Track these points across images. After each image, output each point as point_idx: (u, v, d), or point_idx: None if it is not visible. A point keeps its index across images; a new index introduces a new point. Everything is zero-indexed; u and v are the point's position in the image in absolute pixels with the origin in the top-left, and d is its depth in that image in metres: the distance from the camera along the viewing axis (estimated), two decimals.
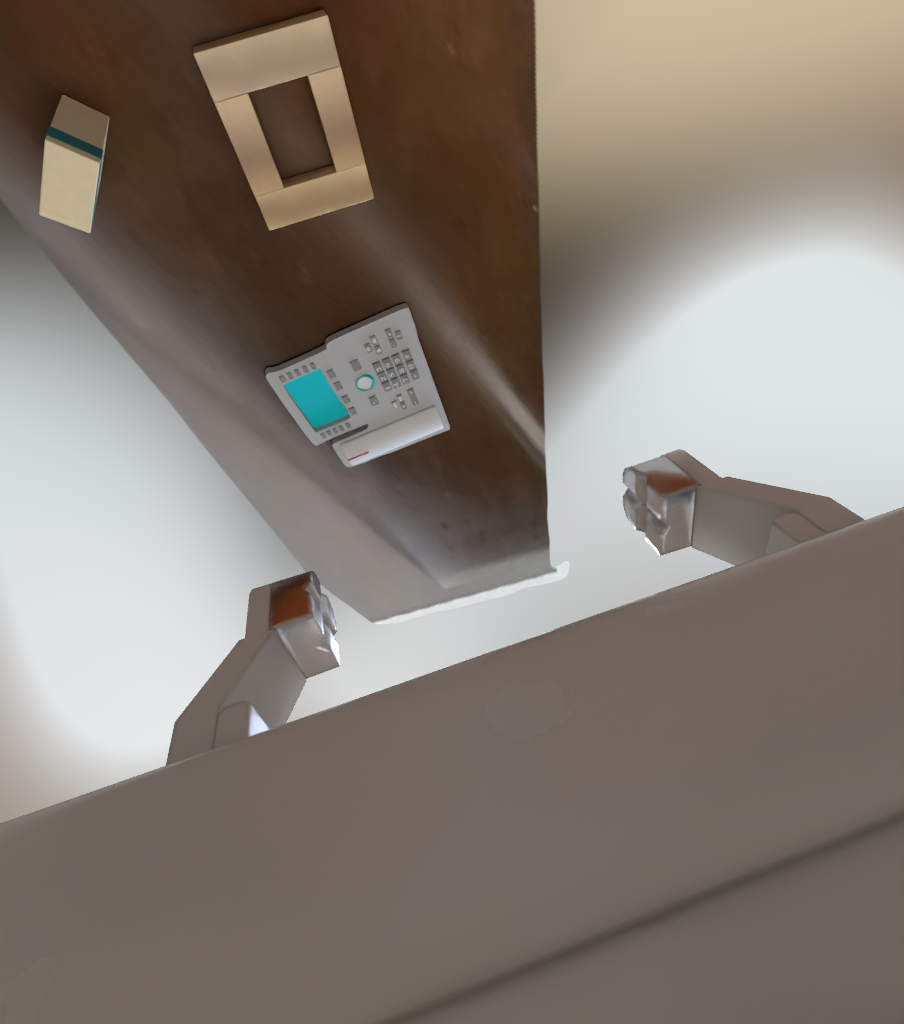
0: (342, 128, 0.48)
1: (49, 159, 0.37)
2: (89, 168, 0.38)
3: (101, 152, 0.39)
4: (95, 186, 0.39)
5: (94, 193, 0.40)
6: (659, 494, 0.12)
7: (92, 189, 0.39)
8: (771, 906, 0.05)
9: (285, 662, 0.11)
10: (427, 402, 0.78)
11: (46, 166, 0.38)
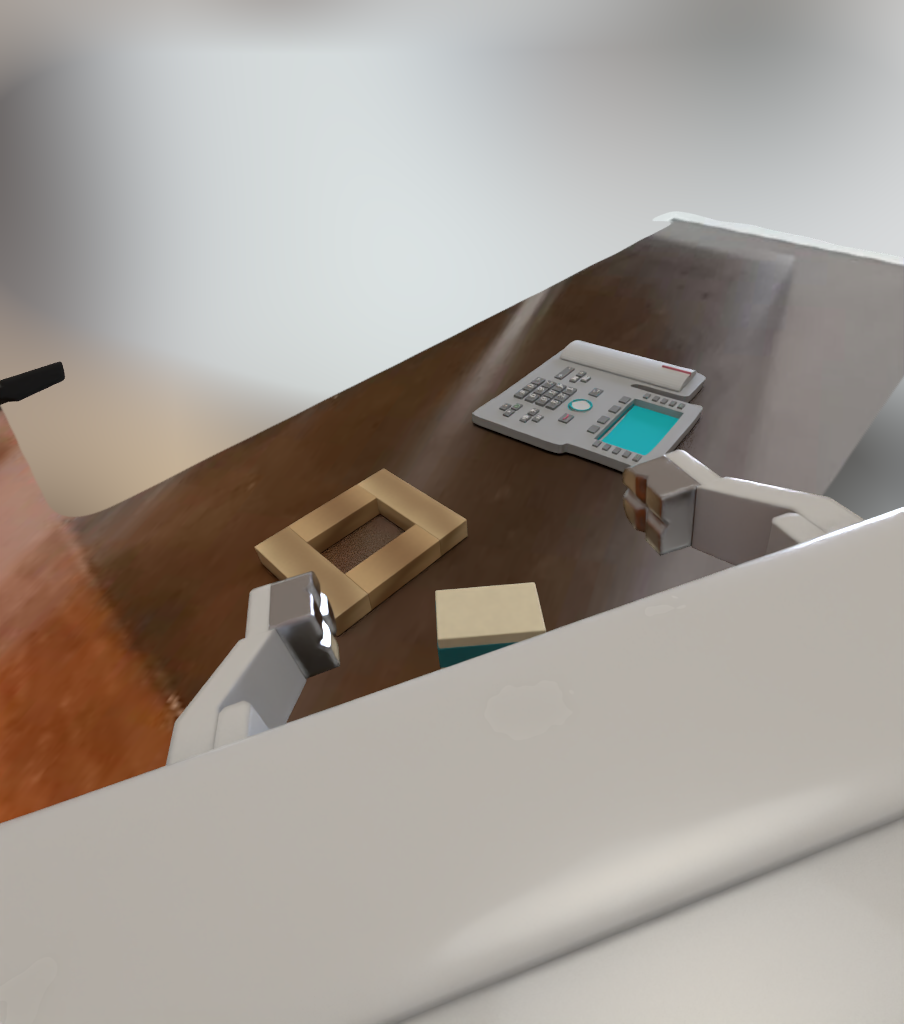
0: (337, 507, 0.47)
1: (460, 631, 0.27)
2: (447, 596, 0.29)
3: None
4: (467, 588, 0.29)
5: (476, 587, 0.29)
6: (659, 494, 0.12)
7: (472, 590, 0.29)
8: (771, 906, 0.05)
9: (285, 662, 0.11)
10: (561, 363, 0.66)
11: (471, 633, 0.27)
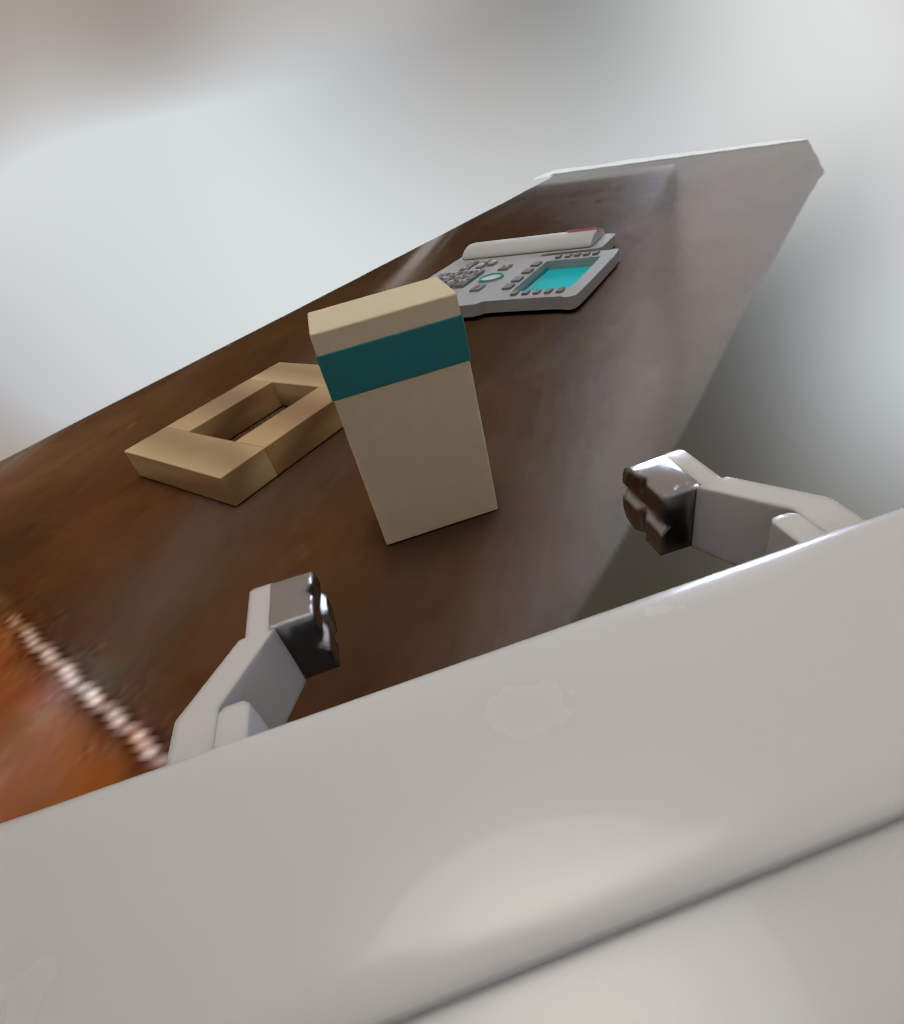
0: (225, 399, 0.39)
1: (341, 322, 0.19)
2: (323, 311, 0.21)
3: None
4: (349, 301, 0.21)
5: (362, 298, 0.21)
6: (659, 494, 0.12)
7: (356, 300, 0.21)
8: (771, 905, 0.05)
9: (285, 662, 0.11)
10: (465, 262, 0.61)
11: (356, 319, 0.19)
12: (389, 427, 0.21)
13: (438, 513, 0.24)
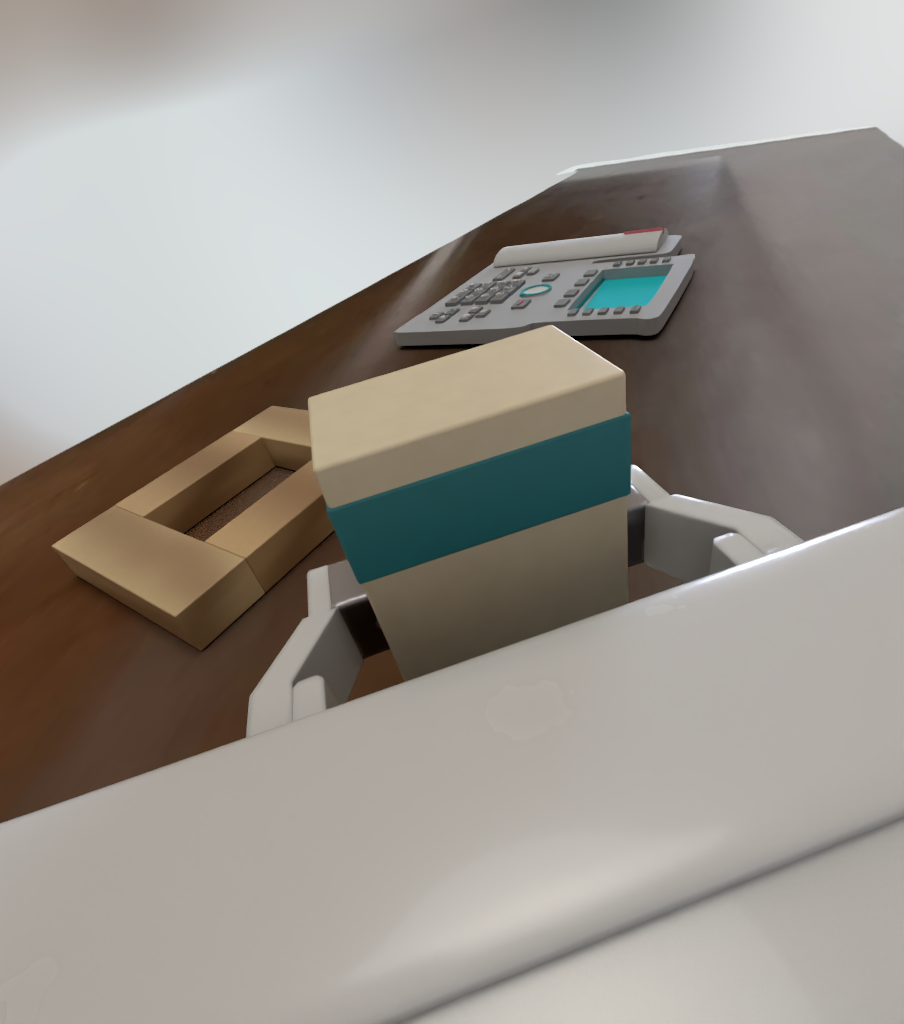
0: (198, 463, 0.29)
1: (380, 438, 0.09)
2: (338, 397, 0.11)
3: None
4: (387, 374, 0.11)
5: (411, 367, 0.11)
6: None
7: (402, 372, 0.11)
8: (772, 907, 0.05)
9: (346, 641, 0.11)
10: (498, 270, 0.51)
11: (413, 432, 0.09)
12: (465, 614, 0.11)
13: None
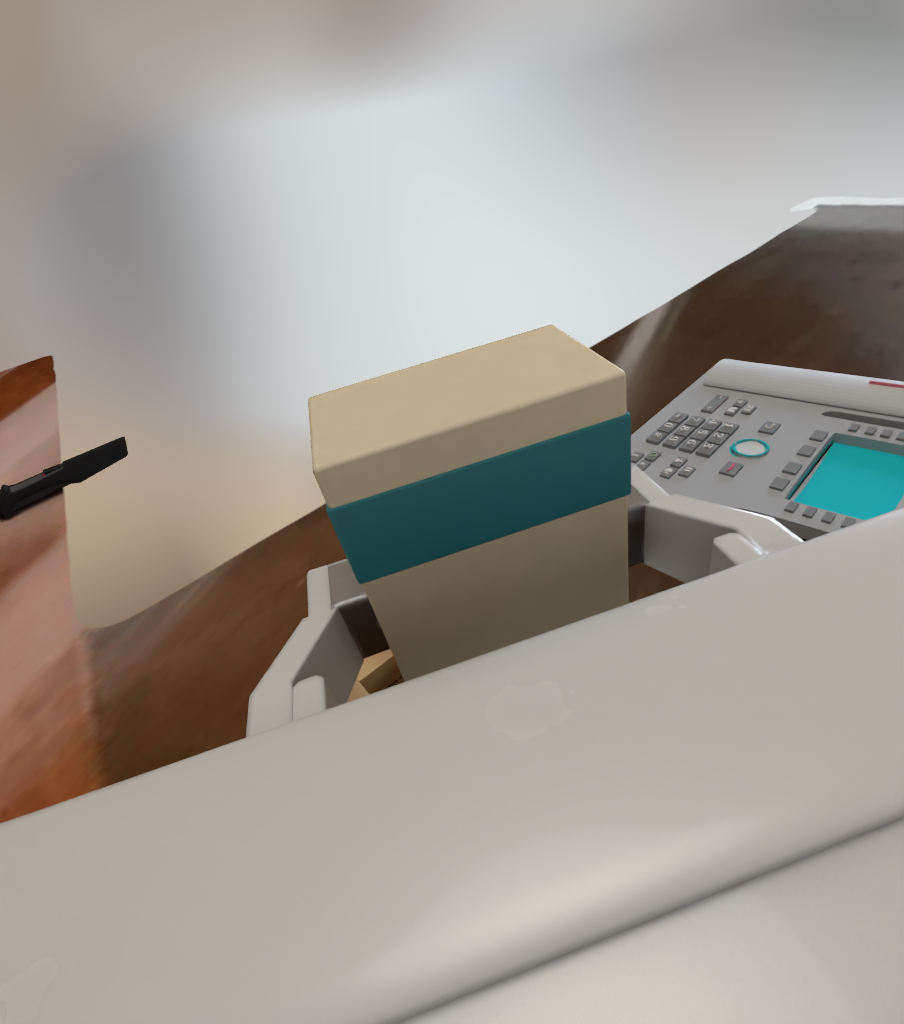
0: None
1: (380, 438, 0.09)
2: (339, 397, 0.11)
3: None
4: (387, 374, 0.11)
5: (412, 366, 0.11)
6: None
7: (402, 371, 0.11)
8: (771, 906, 0.05)
9: (346, 641, 0.11)
10: (707, 391, 0.49)
11: (413, 431, 0.09)
12: (465, 614, 0.11)
13: None
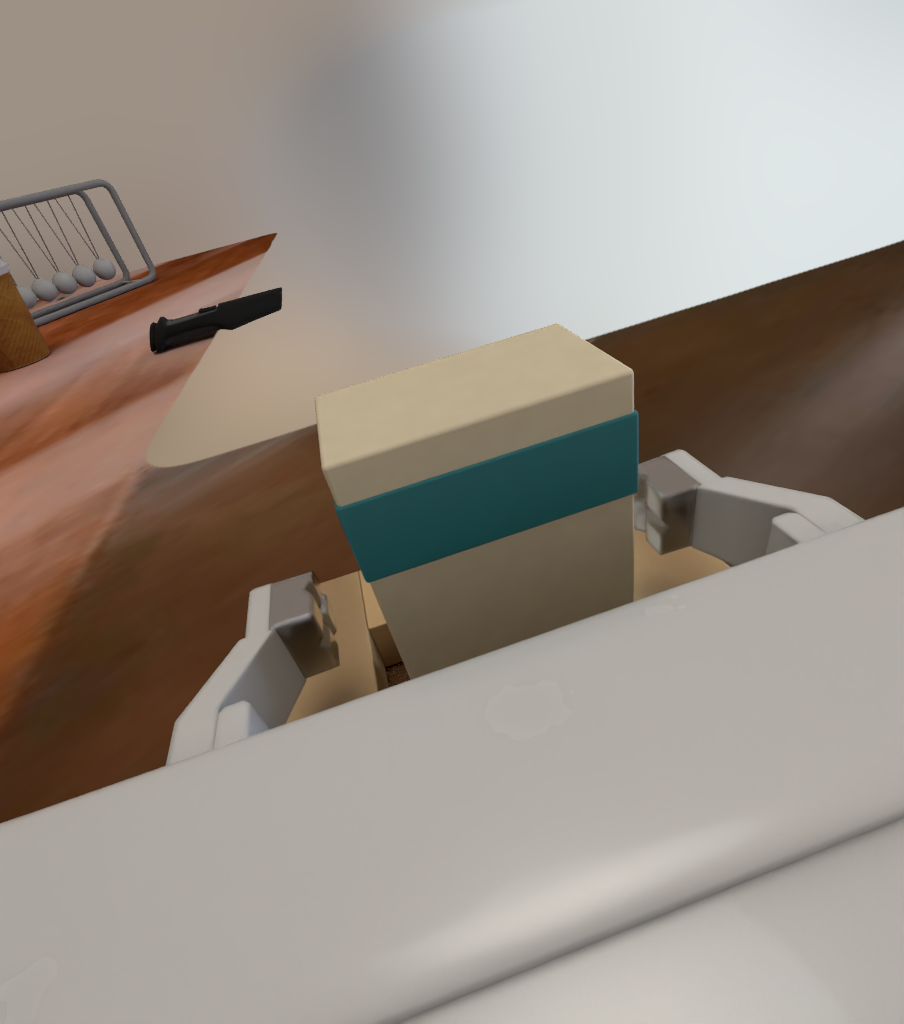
0: None
1: (388, 436, 0.09)
2: (345, 395, 0.11)
3: None
4: None
5: (418, 365, 0.11)
6: (659, 494, 0.12)
7: (408, 370, 0.11)
8: (770, 906, 0.05)
9: (285, 662, 0.11)
10: None
11: (422, 430, 0.09)
12: (472, 612, 0.11)
13: None
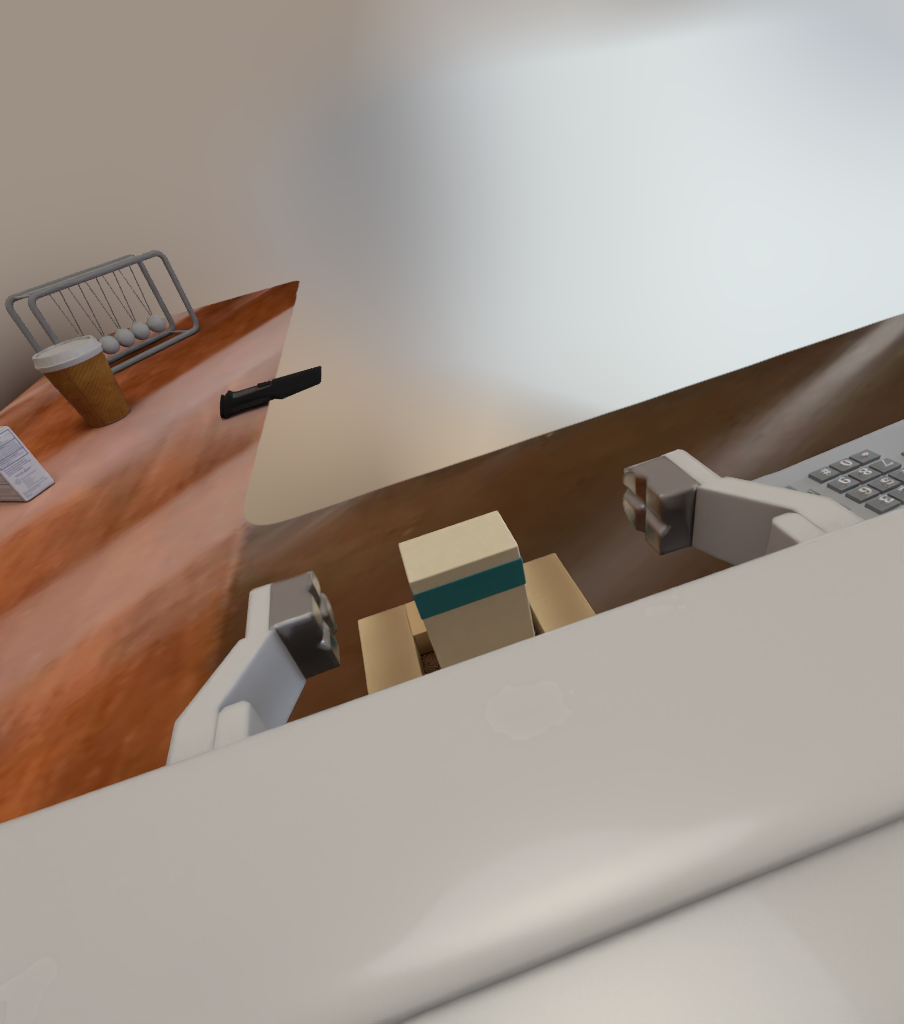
0: None
1: (431, 570, 0.25)
2: (411, 545, 0.27)
3: None
4: (430, 533, 0.27)
5: (440, 530, 0.27)
6: (659, 494, 0.12)
7: (436, 533, 0.27)
8: (771, 906, 0.05)
9: (285, 662, 0.11)
10: None
11: (443, 568, 0.25)
12: (462, 630, 0.27)
13: None
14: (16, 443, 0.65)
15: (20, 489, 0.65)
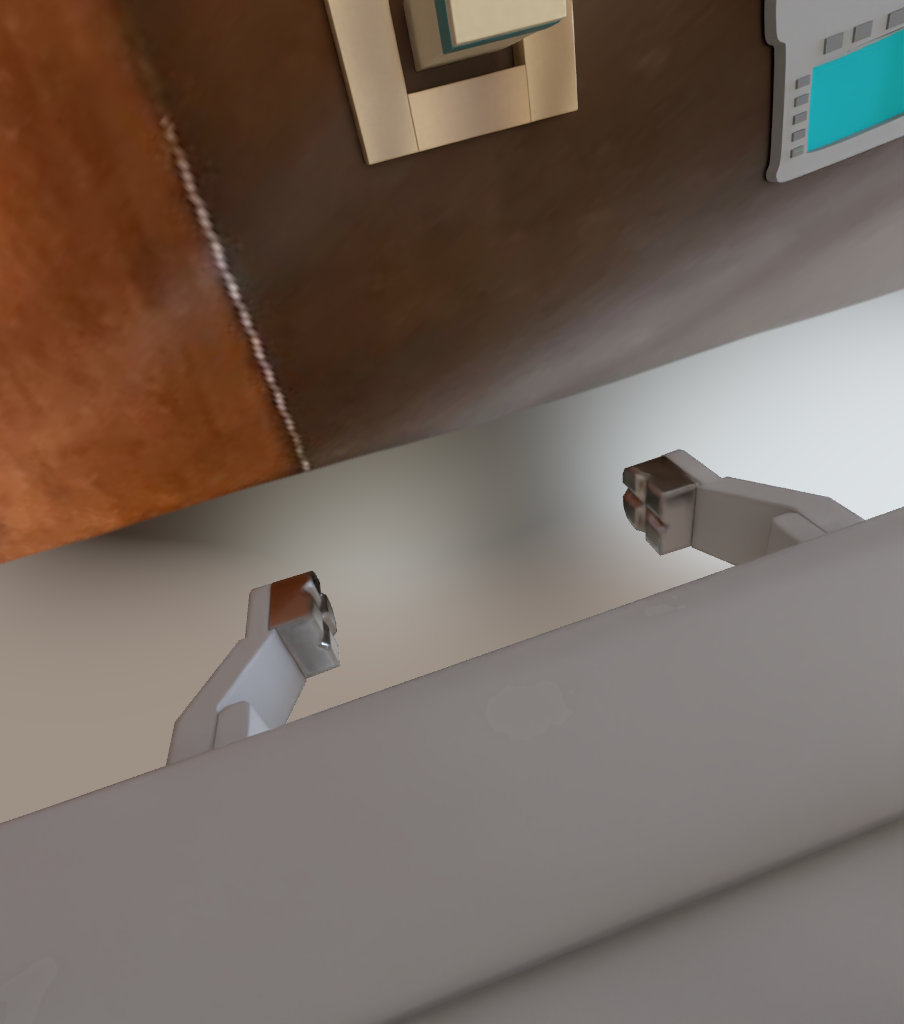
0: None
1: (479, 28, 0.24)
2: None
3: None
4: None
5: None
6: (659, 494, 0.12)
7: None
8: (771, 906, 0.05)
9: (285, 662, 0.11)
10: None
11: (491, 29, 0.24)
12: (467, 50, 0.28)
13: (461, 59, 0.32)
14: None
15: None
